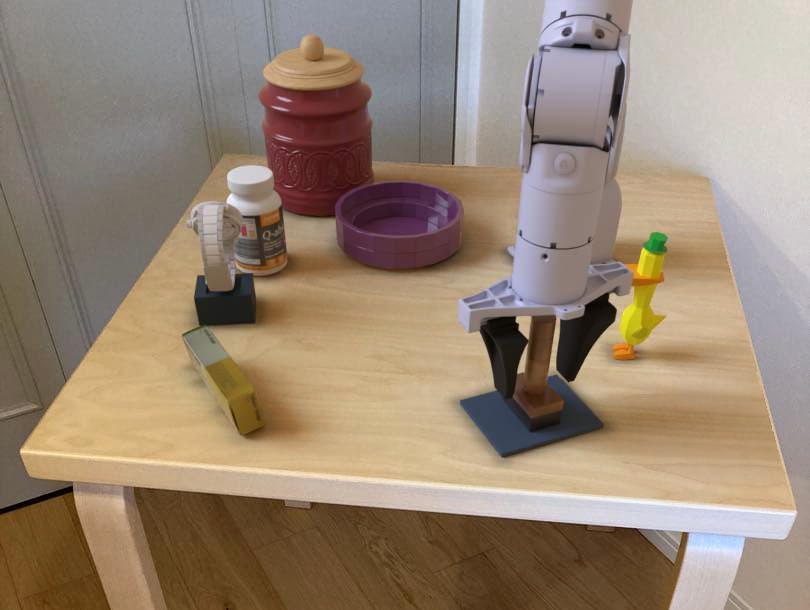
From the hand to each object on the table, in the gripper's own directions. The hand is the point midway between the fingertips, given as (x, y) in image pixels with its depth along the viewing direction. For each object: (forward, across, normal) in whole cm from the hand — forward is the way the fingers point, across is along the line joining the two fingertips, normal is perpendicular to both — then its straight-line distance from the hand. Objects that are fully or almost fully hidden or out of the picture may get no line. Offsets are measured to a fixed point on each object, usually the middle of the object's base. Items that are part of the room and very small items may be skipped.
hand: (534, 383), depth 71 cm
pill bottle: (+4, -14, +35) cm, 38 cm away
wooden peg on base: (+3, 0, 0) cm, 3 cm away
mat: (+3, 0, 0) cm, 3 cm away
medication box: (+4, -24, +13) cm, 28 cm away
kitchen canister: (+4, -2, +49) cm, 49 cm away
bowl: (+3, +2, +34) cm, 34 cm away
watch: (+4, -20, +27) cm, 34 cm away
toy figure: (+4, +13, +5) cm, 14 cm away
